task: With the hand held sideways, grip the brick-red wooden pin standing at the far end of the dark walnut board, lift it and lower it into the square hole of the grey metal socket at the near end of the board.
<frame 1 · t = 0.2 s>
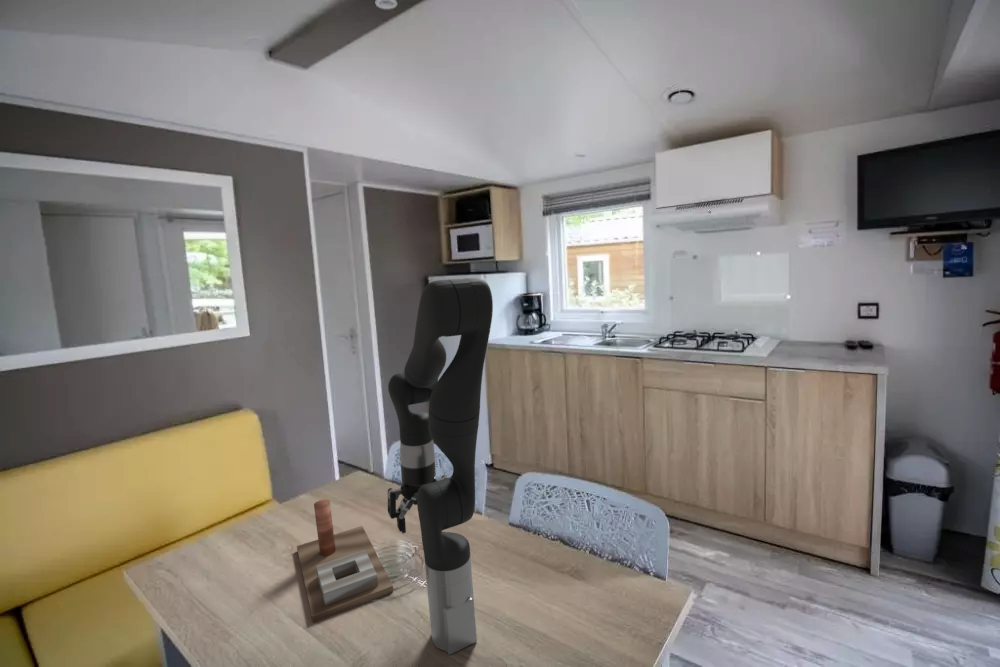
hand: (421, 526, 107), 17 cm above the table, tool pointing down, fingers open, 8 cm apart
pin: (327, 551, 127), point 1 cm above the table, touching socket board
socket board: (341, 569, 121), on the table
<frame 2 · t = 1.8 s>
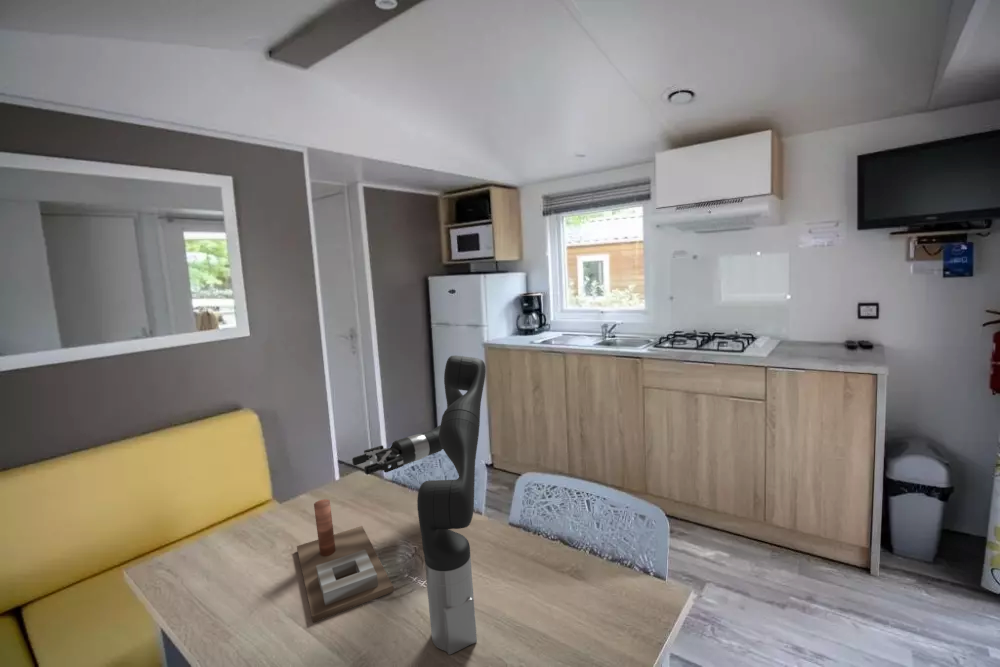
hand: (358, 466, 131), 22 cm above the table, tool horizontal, fingers open, 8 cm apart
nothing on the table moved.
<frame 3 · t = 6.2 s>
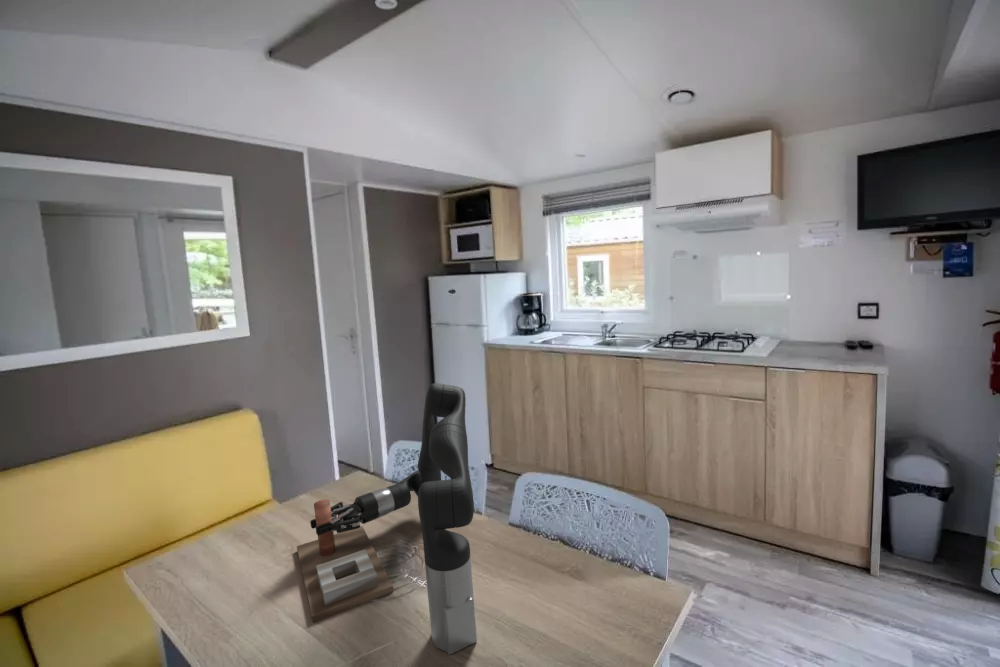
hand: (314, 528, 124), 9 cm above the table, tool horizontal, fingers closed on pin, 4 cm apart
pin: (327, 551, 127), point 2 cm above the table, touching gripper, socket board
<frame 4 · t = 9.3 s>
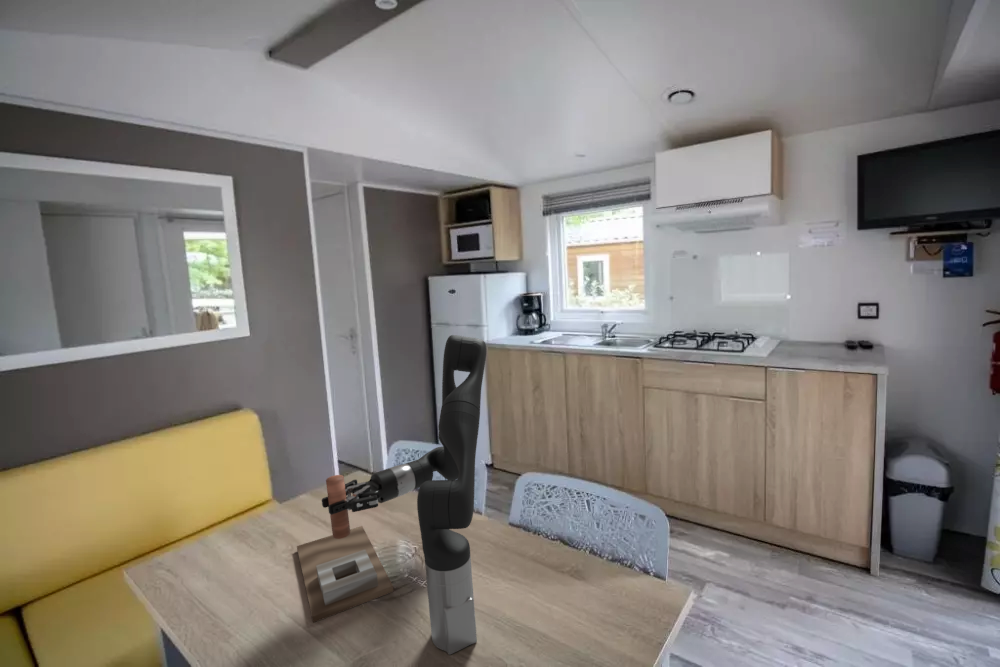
hand: (326, 506, 110), 22 cm above the table, tool horizontal, fingers closed on pin, 4 cm apart
pin: (341, 534, 112), point 14 cm above the table, touching gripper
when the fingers open (10 cm above the table, at t = 12.3 s): pin stays where it is, resting on socket board.
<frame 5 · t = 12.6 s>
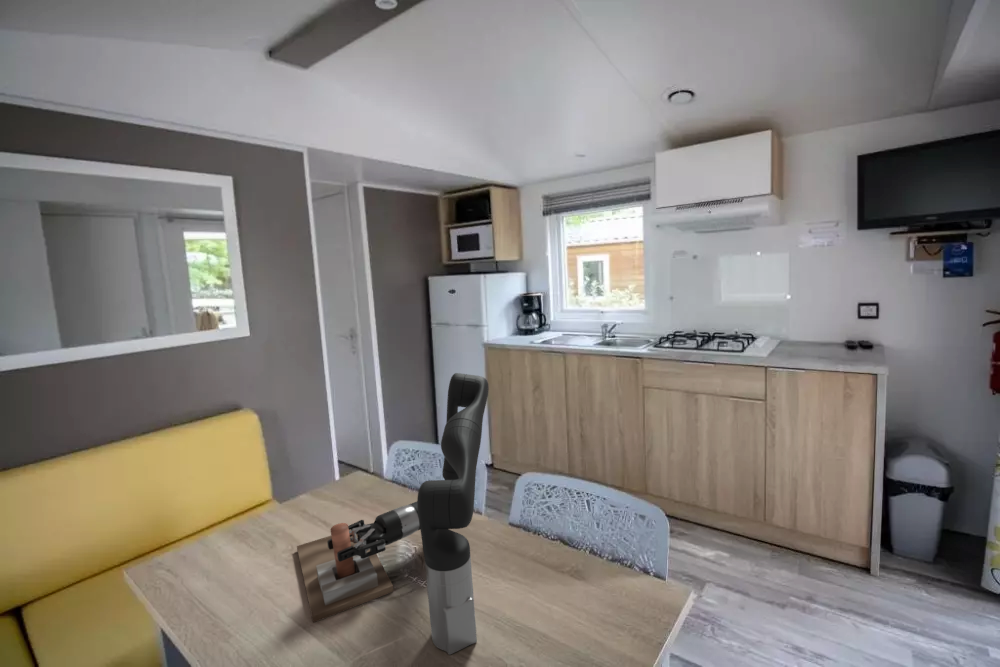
hand: (333, 551, 111), 10 cm above the table, tool horizontal, fingers open, 6 cm apart
pin: (347, 580, 114), point 2 cm above the table, touching socket board
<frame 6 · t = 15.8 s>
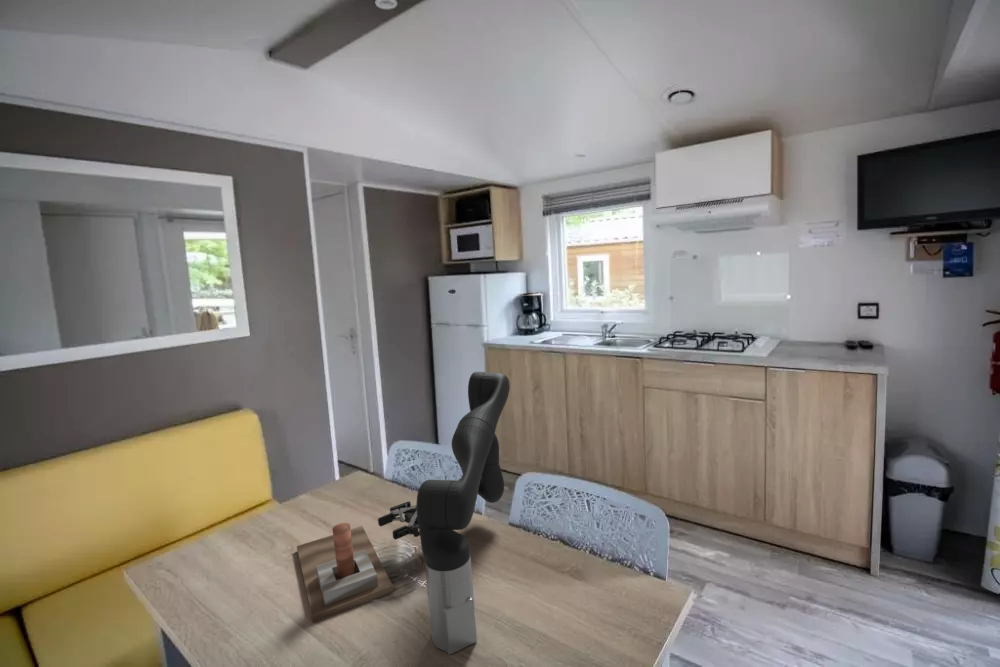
hand: (385, 529, 120), 10 cm above the table, tool horizontal, fingers open, 8 cm apart
nothing on the table moved.
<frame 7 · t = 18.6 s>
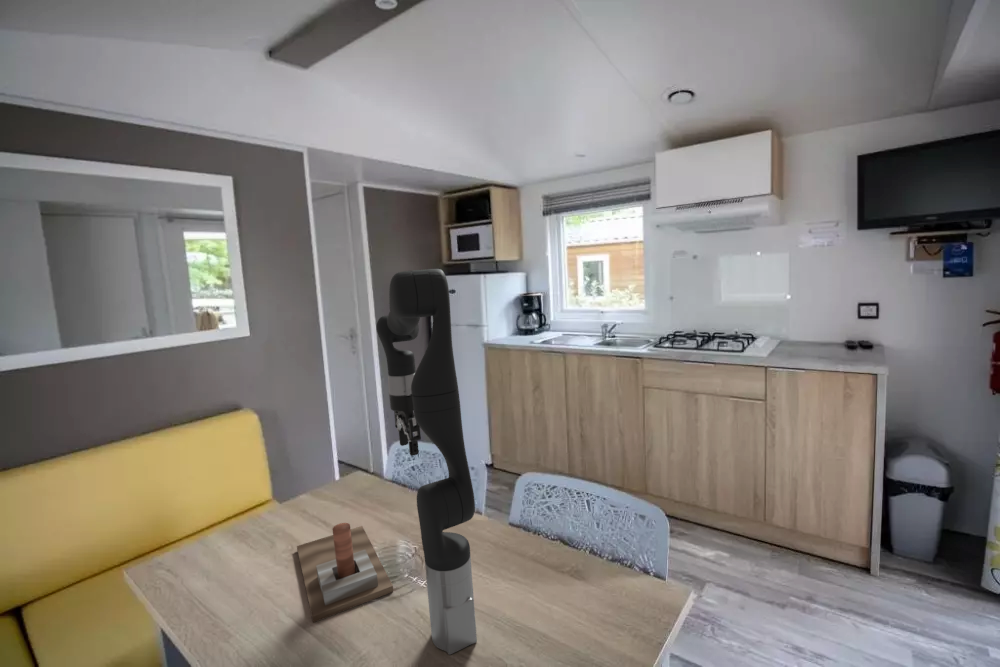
hand: (409, 449, 125), 28 cm above the table, tool pointing down, fingers open, 8 cm apart
nothing on the table moved.
at the end: pin 0.1 cm from the target spot on the socket board, point 1.5 cm above the socket board's base; pin tilted 0°; the gripper is holding nothing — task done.
